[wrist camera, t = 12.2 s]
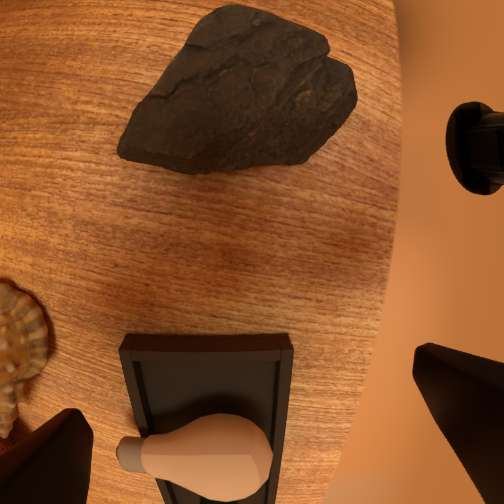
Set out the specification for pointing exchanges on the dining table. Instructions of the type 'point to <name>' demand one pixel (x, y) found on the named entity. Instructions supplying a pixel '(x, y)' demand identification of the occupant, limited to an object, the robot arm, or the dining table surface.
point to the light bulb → (204, 456)
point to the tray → (210, 390)
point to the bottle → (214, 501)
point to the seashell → (19, 350)
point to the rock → (241, 97)
